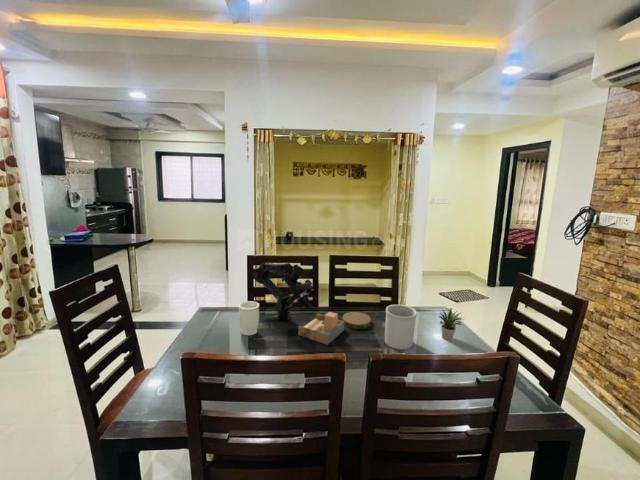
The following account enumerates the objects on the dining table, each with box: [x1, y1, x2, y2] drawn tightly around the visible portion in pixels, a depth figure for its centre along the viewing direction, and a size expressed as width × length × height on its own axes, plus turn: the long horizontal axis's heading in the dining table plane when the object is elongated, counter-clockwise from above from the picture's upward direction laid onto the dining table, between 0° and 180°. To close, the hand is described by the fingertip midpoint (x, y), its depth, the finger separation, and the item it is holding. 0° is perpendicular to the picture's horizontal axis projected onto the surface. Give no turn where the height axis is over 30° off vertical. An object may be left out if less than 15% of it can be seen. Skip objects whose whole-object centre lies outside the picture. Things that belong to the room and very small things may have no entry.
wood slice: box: [341, 311, 372, 330], centre depth 191 cm, size 16×16×3 cm
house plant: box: [438, 308, 465, 341], centre depth 175 cm, size 14×14×16 cm
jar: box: [237, 300, 260, 336], centre depth 174 cm, size 11×10×15 cm
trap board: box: [297, 313, 325, 342], centre depth 179 cm, size 10×18×5 cm, turn 150°
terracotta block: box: [324, 311, 339, 333], centre depth 174 cm, size 5×5×9 cm
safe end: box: [315, 319, 345, 346], centre depth 175 cm, size 7×18×5 cm, turn 150°
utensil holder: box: [384, 304, 418, 350], centre depth 169 cm, size 15×15×18 cm
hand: (310, 308), depth 179 cm, fingers closed
